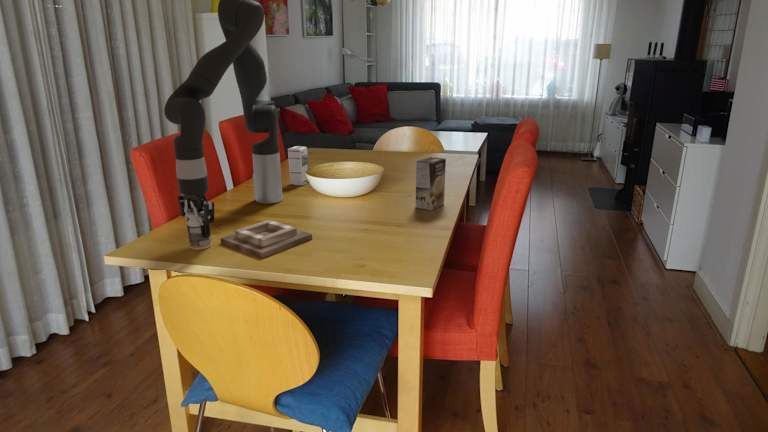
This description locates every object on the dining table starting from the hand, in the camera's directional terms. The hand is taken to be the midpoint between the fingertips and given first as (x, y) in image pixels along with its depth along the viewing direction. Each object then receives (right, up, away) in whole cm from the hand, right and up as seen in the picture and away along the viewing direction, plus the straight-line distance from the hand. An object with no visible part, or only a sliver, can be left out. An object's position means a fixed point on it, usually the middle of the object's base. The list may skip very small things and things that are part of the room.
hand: (199, 234), depth 144 cm
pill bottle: (0, -4, +1) cm, 4 cm away
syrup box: (+17, +18, +66) cm, 70 cm away
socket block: (+17, -2, +5) cm, 18 cm away
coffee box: (+66, +8, +36) cm, 76 cm away
